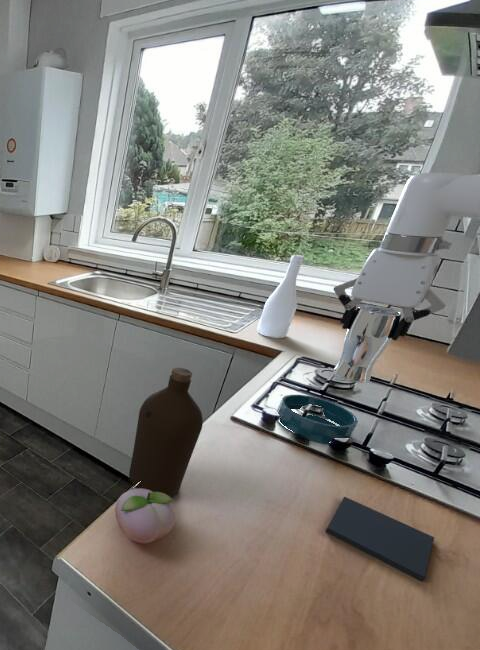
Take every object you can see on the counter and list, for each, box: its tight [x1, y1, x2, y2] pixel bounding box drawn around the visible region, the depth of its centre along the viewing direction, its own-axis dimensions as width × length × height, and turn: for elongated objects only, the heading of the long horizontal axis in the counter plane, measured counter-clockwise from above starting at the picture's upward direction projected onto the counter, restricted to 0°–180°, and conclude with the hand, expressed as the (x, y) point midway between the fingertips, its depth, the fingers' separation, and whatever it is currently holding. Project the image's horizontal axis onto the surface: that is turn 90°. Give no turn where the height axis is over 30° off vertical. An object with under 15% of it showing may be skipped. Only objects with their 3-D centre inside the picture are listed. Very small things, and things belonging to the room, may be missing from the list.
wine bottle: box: [256, 254, 305, 339], centre depth 150 cm, size 10×10×30 cm
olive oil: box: [128, 367, 204, 498], centre depth 77 cm, size 11×11×25 cm
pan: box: [276, 394, 359, 445], centre depth 99 cm, size 14×14×5 cm
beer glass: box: [332, 304, 403, 384], centre depth 84 cm, size 7×7×15 cm
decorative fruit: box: [114, 488, 176, 544], centre depth 68 cm, size 9×8×10 cm
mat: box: [324, 496, 435, 582], centre depth 70 cm, size 12×12×1 cm
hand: (369, 332), depth 83 cm, fingers closed on beer glass, 7 cm apart
